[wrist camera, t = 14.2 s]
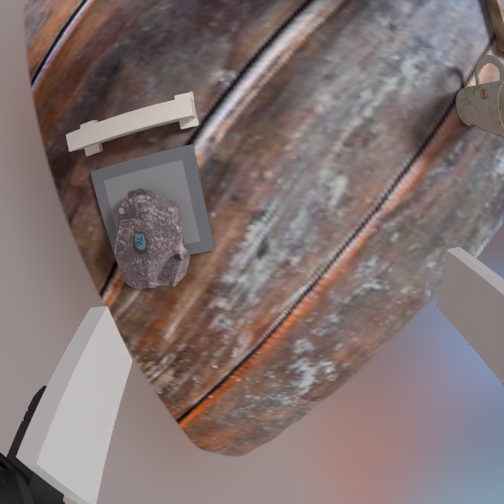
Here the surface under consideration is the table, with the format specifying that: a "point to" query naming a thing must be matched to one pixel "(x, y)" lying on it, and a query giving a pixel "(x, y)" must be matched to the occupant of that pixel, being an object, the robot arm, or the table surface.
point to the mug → (483, 101)
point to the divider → (133, 123)
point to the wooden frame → (497, 21)
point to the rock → (150, 240)
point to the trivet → (158, 192)
